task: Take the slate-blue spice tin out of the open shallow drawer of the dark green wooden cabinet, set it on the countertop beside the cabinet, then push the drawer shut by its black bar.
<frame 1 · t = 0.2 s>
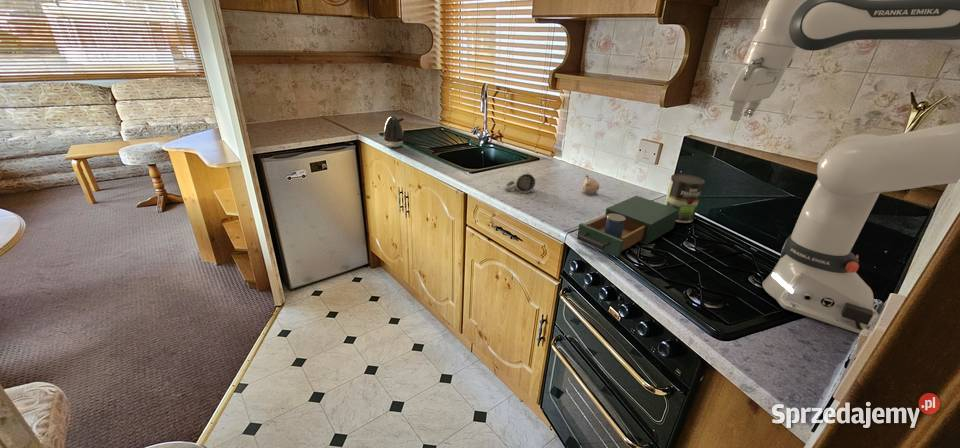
hand: (741, 118, 98), 39 cm above the worktop, tool pointing down, fingers open, 8 cm apart
coffee can: (677, 217, 141), on the worktop
drawer: (610, 233, 118), point 3 cm above the worktop, slide at 14.0 cm, touching spice tin
garlic bulb: (589, 193, 158), on the worktop
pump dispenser: (394, 146, 208), on the worktop
spice tin: (612, 236, 120), point 2 cm above the worktop, touching drawer
ceramic mug: (519, 190, 158), on the worktop
cabinet: (638, 228, 131), on the worktop
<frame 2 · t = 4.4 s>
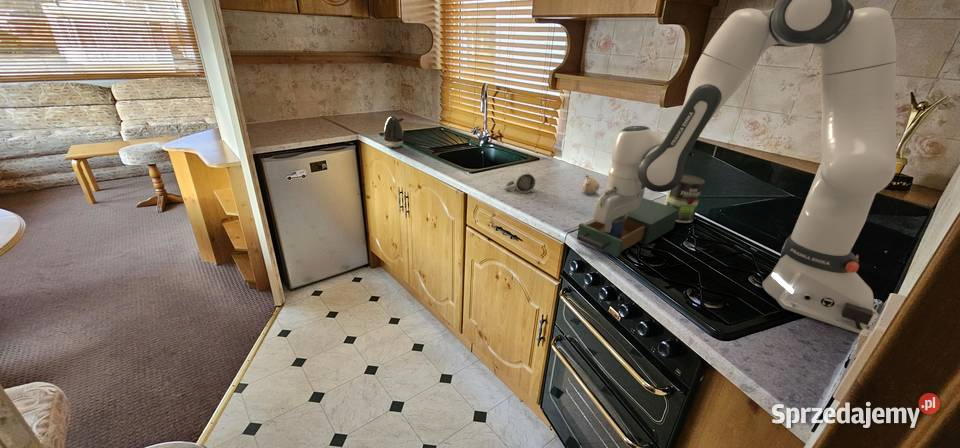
hand: (614, 228, 119), 5 cm above the worktop, tool pointing down, fingers closed on spice tin, 5 cm apart
spice tin: (612, 236, 120), point 2 cm above the worktop, touching drawer, gripper
everything else where it was.
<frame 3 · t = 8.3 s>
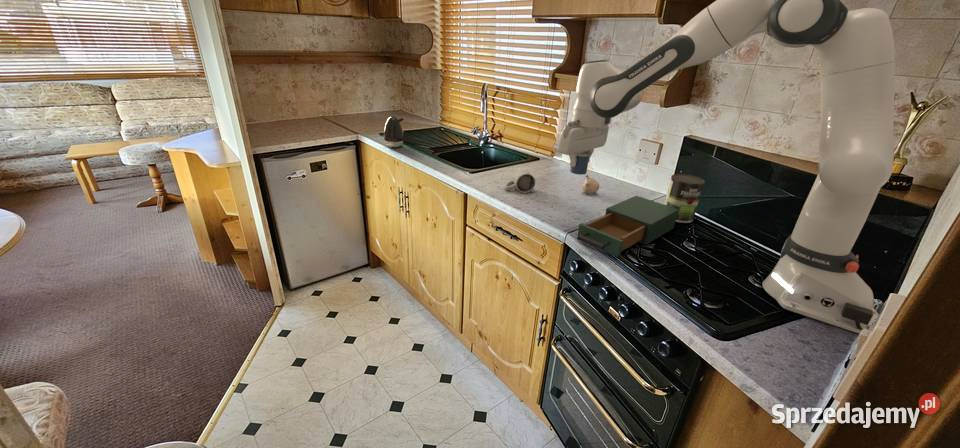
hand: (579, 164, 125), 20 cm above the worktop, tool pointing down, fingers closed on spice tin, 5 cm apart
drawer: (610, 233, 118), point 3 cm above the worktop, slide at 14.1 cm
spice tin: (578, 172, 126), point 17 cm above the worktop, touching gripper
everything else where it was.
when the fingers open (2 cm above the worktop, at t = 12.5 s): spice tin stays where it is, on the worktop.
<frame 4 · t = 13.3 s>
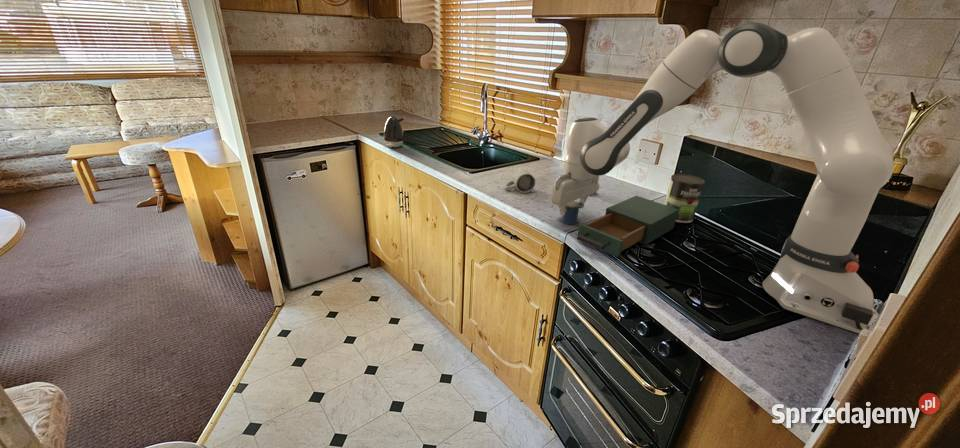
hand: (571, 211, 132), 4 cm above the worktop, tool pointing down, fingers open, 8 cm apart
spice tin: (569, 221, 133), on the worktop
everything else where it was.
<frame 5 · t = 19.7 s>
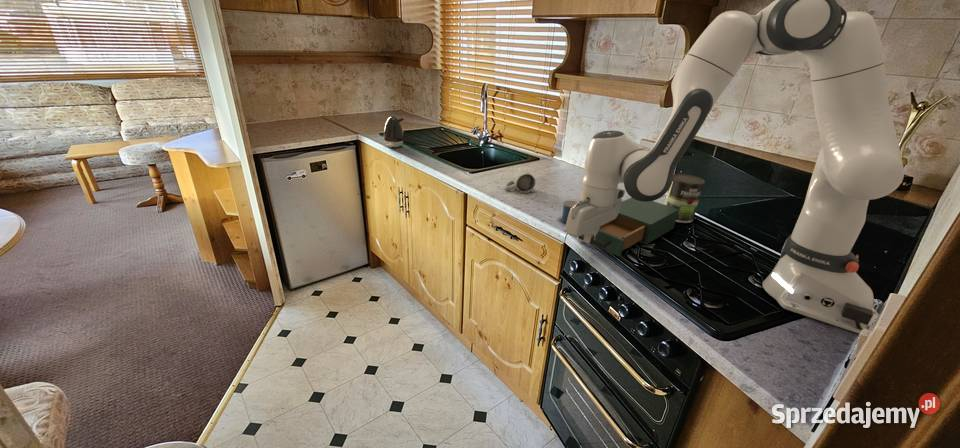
hand: (589, 241, 110), 5 cm above the worktop, tool pointing down, fingers closed
drawer: (611, 233, 119), point 3 cm above the worktop, slide at 13.3 cm, touching gripper
everything else where it was.
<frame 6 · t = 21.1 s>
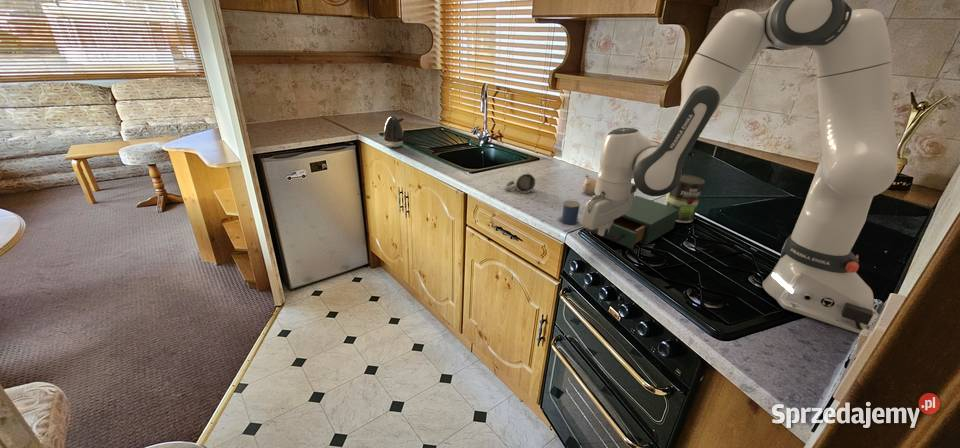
hand: (602, 234, 115), 5 cm above the worktop, tool pointing down, fingers closed
drawer: (623, 227, 123), point 3 cm above the worktop, slide at 6.4 cm, touching gripper
everything else where it was.
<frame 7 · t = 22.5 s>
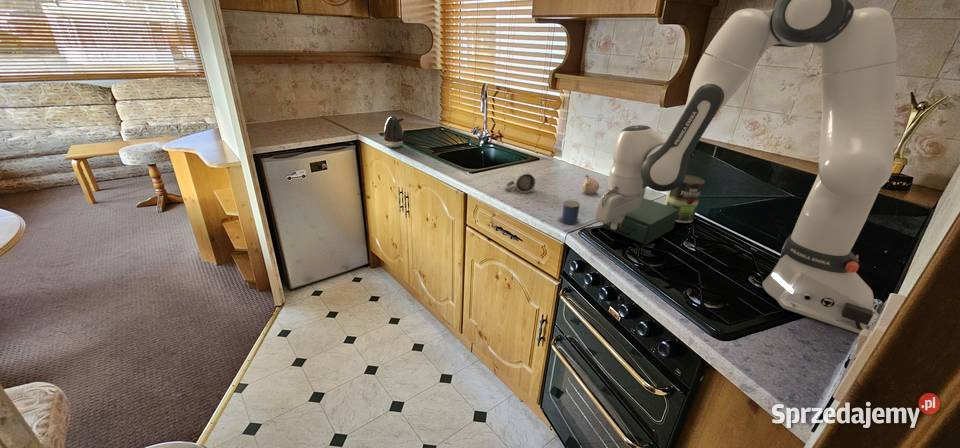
hand: (615, 228, 119), 5 cm above the worktop, tool pointing down, fingers closed
drawer: (634, 221, 127), point 3 cm above the worktop, slide at 0.0 cm, touching gripper
everything else where it was.
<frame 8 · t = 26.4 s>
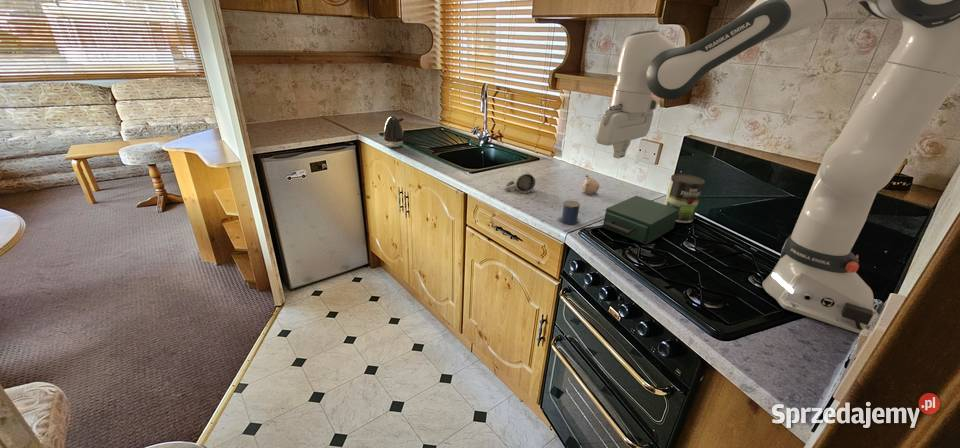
hand: (618, 157, 106), 27 cm above the worktop, tool pointing down, fingers closed
drawer: (634, 221, 127), point 3 cm above the worktop, slide at 0.0 cm
everything else where it was.
at the end: spice tin inside the target area (0.2 cm from its centre), on the worktop; the gripper is holding nothing; drawer slide at 0.0 cm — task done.
